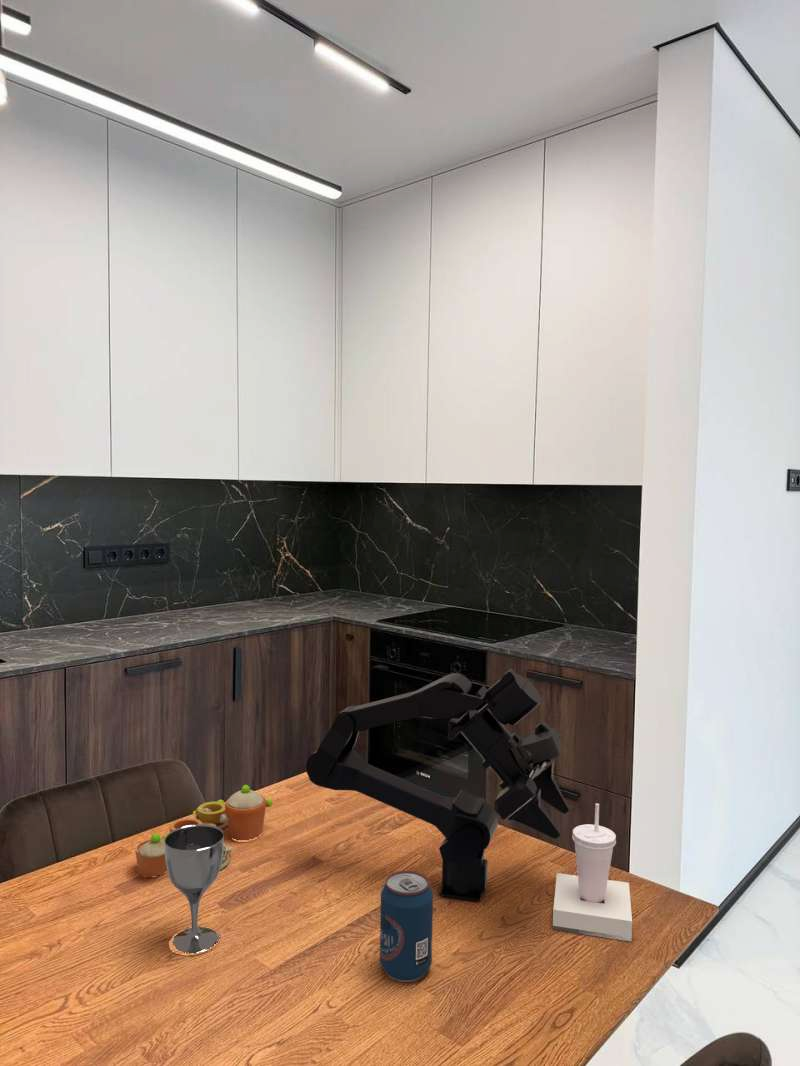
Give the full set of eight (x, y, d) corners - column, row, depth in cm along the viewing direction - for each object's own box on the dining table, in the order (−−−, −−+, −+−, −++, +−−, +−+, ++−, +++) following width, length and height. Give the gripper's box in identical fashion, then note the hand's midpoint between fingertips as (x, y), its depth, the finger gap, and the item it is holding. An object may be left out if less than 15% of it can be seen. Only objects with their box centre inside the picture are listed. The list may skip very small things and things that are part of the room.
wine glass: (234, 931, 110) (234, 829, 109) (202, 963, 103) (202, 854, 102) (186, 920, 113) (186, 820, 112) (152, 950, 105) (152, 844, 104)
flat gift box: (552, 929, 112) (553, 909, 112) (556, 891, 123) (556, 872, 122) (631, 941, 109) (632, 921, 109) (628, 901, 120) (628, 882, 120)
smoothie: (622, 897, 115) (625, 806, 114) (597, 912, 111) (601, 818, 110) (586, 880, 120) (589, 792, 119) (561, 894, 116) (564, 803, 115)
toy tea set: (207, 814, 150) (207, 765, 149) (278, 827, 145) (279, 776, 144) (117, 878, 125) (117, 820, 124) (200, 896, 120) (200, 836, 119)
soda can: (369, 964, 103) (370, 877, 102) (410, 946, 107) (412, 863, 106) (400, 992, 98) (401, 900, 97) (442, 972, 102) (444, 884, 101)
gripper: (519, 729, 109) (596, 818, 106) (541, 696, 126) (608, 771, 123) (463, 775, 112) (537, 863, 109) (493, 736, 129) (557, 811, 126)
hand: (562, 824), depth 117 cm, fingers open, 9 cm apart
